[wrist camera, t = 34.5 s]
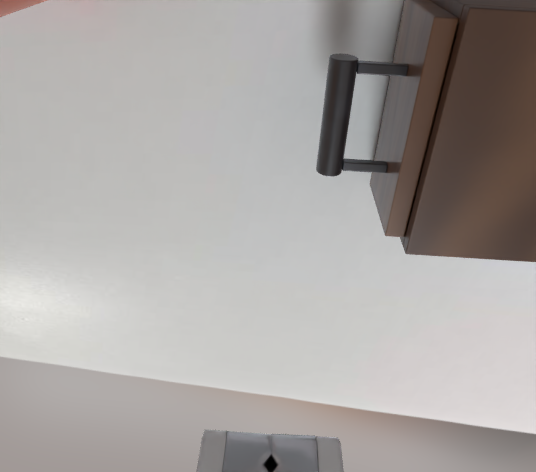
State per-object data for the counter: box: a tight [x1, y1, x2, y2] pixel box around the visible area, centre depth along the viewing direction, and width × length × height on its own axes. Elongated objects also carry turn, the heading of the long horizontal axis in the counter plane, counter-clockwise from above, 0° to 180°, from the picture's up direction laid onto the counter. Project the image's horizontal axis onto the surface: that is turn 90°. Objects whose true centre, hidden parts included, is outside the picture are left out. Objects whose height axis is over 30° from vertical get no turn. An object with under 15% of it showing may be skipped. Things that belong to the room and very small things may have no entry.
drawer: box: [316, 0, 459, 237], centre depth 29 cm, size 19×13×7 cm, turn 87°
